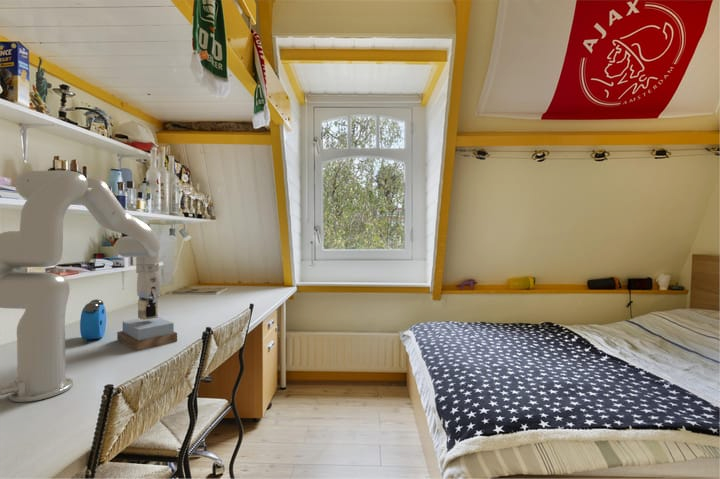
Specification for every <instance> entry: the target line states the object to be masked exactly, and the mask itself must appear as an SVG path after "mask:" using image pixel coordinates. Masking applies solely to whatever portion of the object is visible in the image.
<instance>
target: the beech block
mask: <svg viewBox="0 0 720 479" xmlns="http://www.w3.org/2000/svg"><path fill="white" fill-rule="evenodd" d="M149 301H151V300H149ZM158 302H159V301H158V300H157V302H156V315H155V316H152V317H146V307H147V300H146V299H141V300H140V299H138V300H137V319H142V320H146V319H152V318H157V317H159V316H158V308H159V307H158Z"/></svg>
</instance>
